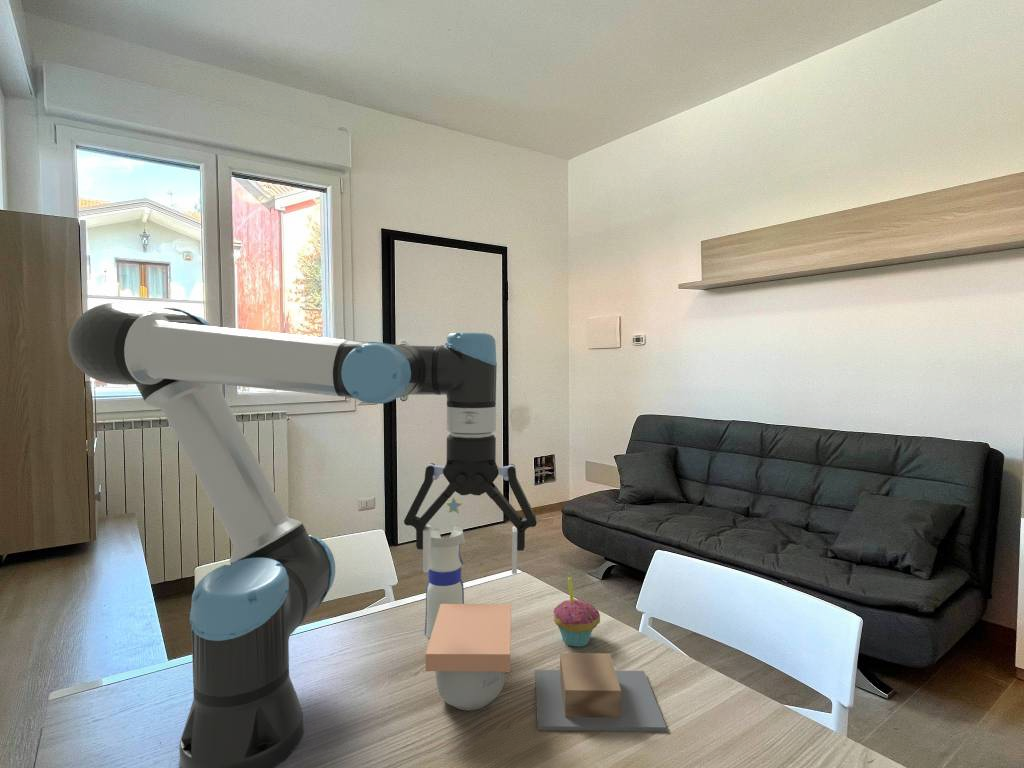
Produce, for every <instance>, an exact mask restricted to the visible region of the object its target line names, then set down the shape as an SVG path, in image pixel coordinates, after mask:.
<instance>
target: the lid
mask: <svg viewBox="0 0 1024 768" xmlns="http://www.w3.org/2000/svg"><path fill="white" fill-rule="evenodd" d="M511 640H512V604H511V603H464V604H440V608H439V611H438V614H437V617H436V621H435V624H434V627H433V631H432V634H431V637H430V639H429V641H428V644H427V647H426V650H425V654H424V655H425V656H424V657H425V672H435V671H504V672H511V649H512V648H511V645H512V641H511Z"/></svg>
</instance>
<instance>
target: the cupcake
mask: <svg viewBox="0 0 1024 768" xmlns="http://www.w3.org/2000/svg"><path fill="white" fill-rule="evenodd" d="M567 574H568V575H567V576H568V577H567V583H568V584H567V585H568V591H569V599H567V600H564V601H562V602H561V603H559V604H558V605H556V607H554V609H553V621H554V624H555V625H556V626H557V628H558V630H559V632H560V635H561V638H562V639H561V640H562V641H563V643H565V644H566V645H568V646H571V647H576V646H578V647H583V646H586V645H588V643H589V642H590V638H591V635H592V632H593V631H594V629H595V628H597V626H598V625H599V624H600V623H601V614H600V612H599V611H598V609H597V608H596V607H594V605H592V604H591V603H589V602H587V601H586V600H581V599H575V597H574V592H573V591H574V590H573V582H572V581H573V580H572V577H571V575H570V573H569V572H568V573H567Z"/></svg>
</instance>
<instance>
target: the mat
mask: <svg viewBox="0 0 1024 768" xmlns="http://www.w3.org/2000/svg"><path fill="white" fill-rule="evenodd" d="M615 672H616V675H617V679H618V682H619V685H620V689H621V718H601V717H565V712H564V704H563V696H562V688H561V681H560V669H556V670H555V669H534V679H535V681H534V682H535V701H536V720H537V723H536V724H537V731H568V732H569V731H572V732H574V731H575V732H577V731H578V732H579V731H580V732H582V731H583V732H584V731H586V732H587V731H588V732H593V731H594V732H611V731H612V732H667V725H666V723H665V720H664V717H663V716H662V713H661V711H660V707H659V705H658V703H657V700H656V698H655V696H654V692H653V690H652V687H651V684H650V682H649V680H648V678H647V675H646V672H645V670H615Z"/></svg>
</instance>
